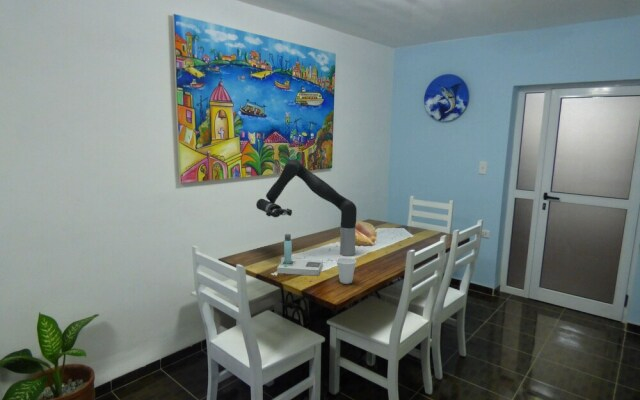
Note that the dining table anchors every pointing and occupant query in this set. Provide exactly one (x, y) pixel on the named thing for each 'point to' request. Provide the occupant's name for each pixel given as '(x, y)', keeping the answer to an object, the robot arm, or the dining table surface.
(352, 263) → the cup
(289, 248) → the plug
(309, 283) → the dining table surface
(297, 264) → the panel
